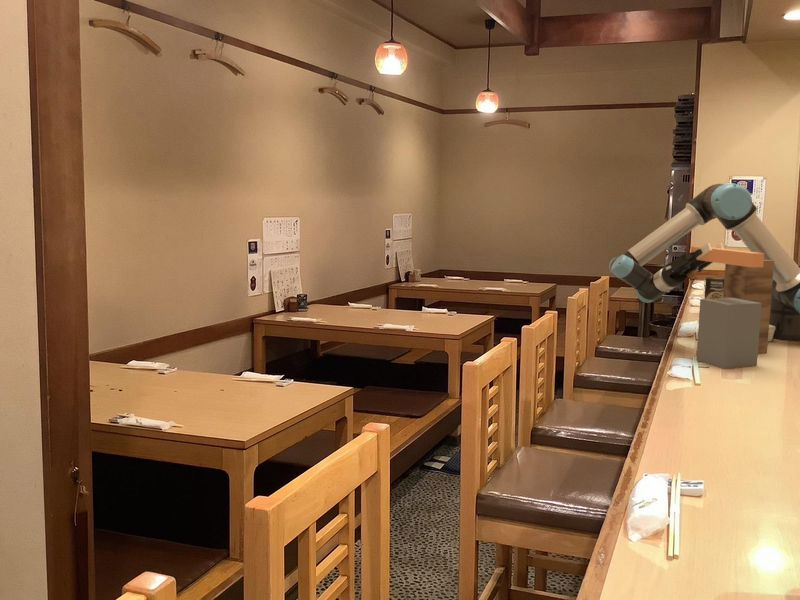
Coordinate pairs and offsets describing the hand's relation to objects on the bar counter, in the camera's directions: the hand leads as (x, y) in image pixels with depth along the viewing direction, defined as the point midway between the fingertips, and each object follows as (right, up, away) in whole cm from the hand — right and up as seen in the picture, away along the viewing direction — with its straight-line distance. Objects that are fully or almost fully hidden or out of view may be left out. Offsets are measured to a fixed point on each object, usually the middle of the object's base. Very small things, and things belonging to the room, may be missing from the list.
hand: (716, 246), depth 236 cm
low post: (+2, -35, -2) cm, 36 cm away
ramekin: (+29, -31, +35) cm, 55 cm away
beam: (+1, -5, -3) cm, 6 cm away
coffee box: (+34, -23, +85) cm, 94 cm away
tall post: (+15, -33, +16) cm, 40 cm away
